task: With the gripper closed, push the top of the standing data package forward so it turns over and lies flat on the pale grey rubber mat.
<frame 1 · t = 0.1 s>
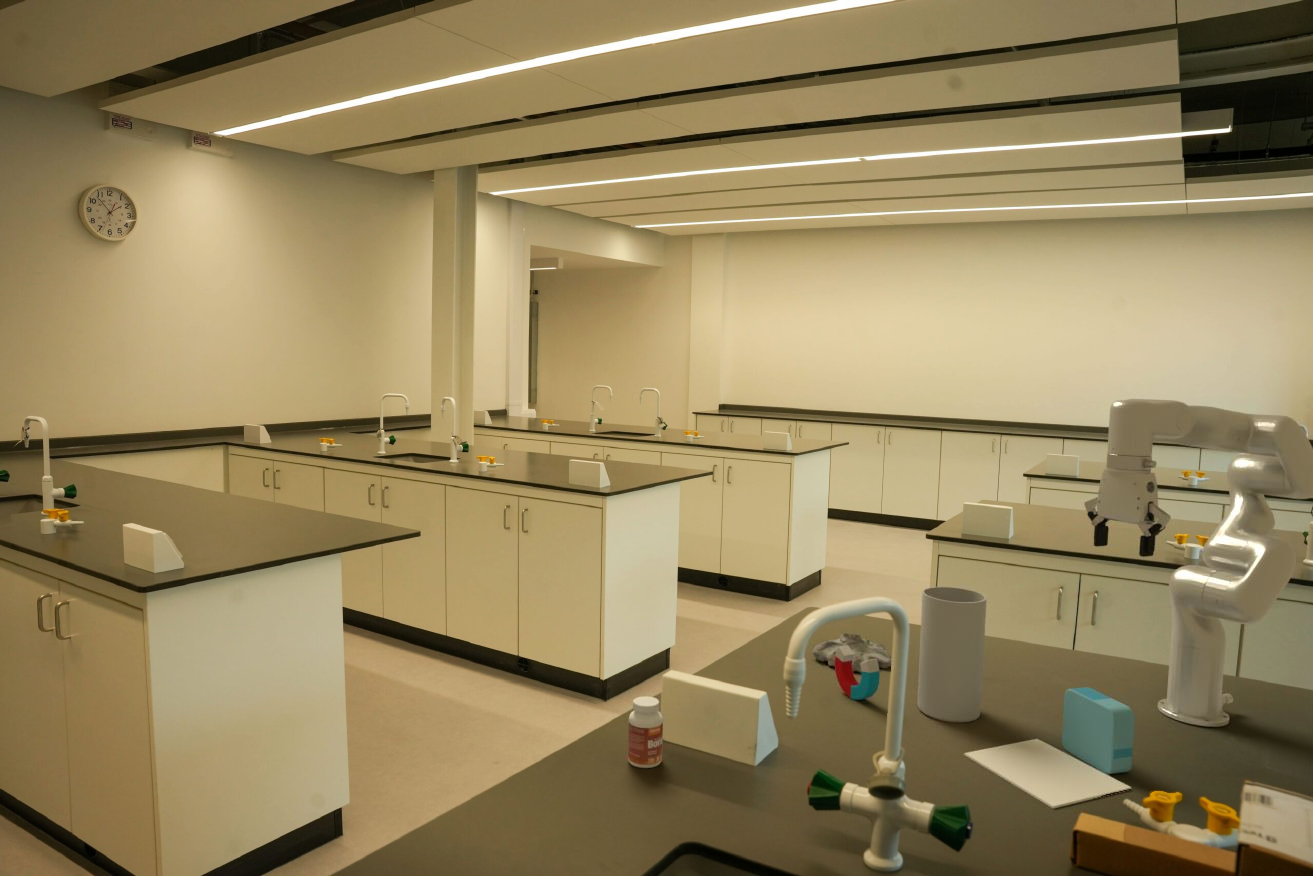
hand: (1122, 550, 161), 37 cm above the countertop, tool pointing down, fingers open, 9 cm apart
magnet: (855, 698, 179), on the countertop
fossil: (856, 663, 202), on the countertop
pill bottle: (644, 762, 147), on the countertop
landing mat: (1044, 771, 146), on the countertop
data package: (1094, 762, 151), on the countertop
cylinder vase: (948, 712, 172), on the countertop
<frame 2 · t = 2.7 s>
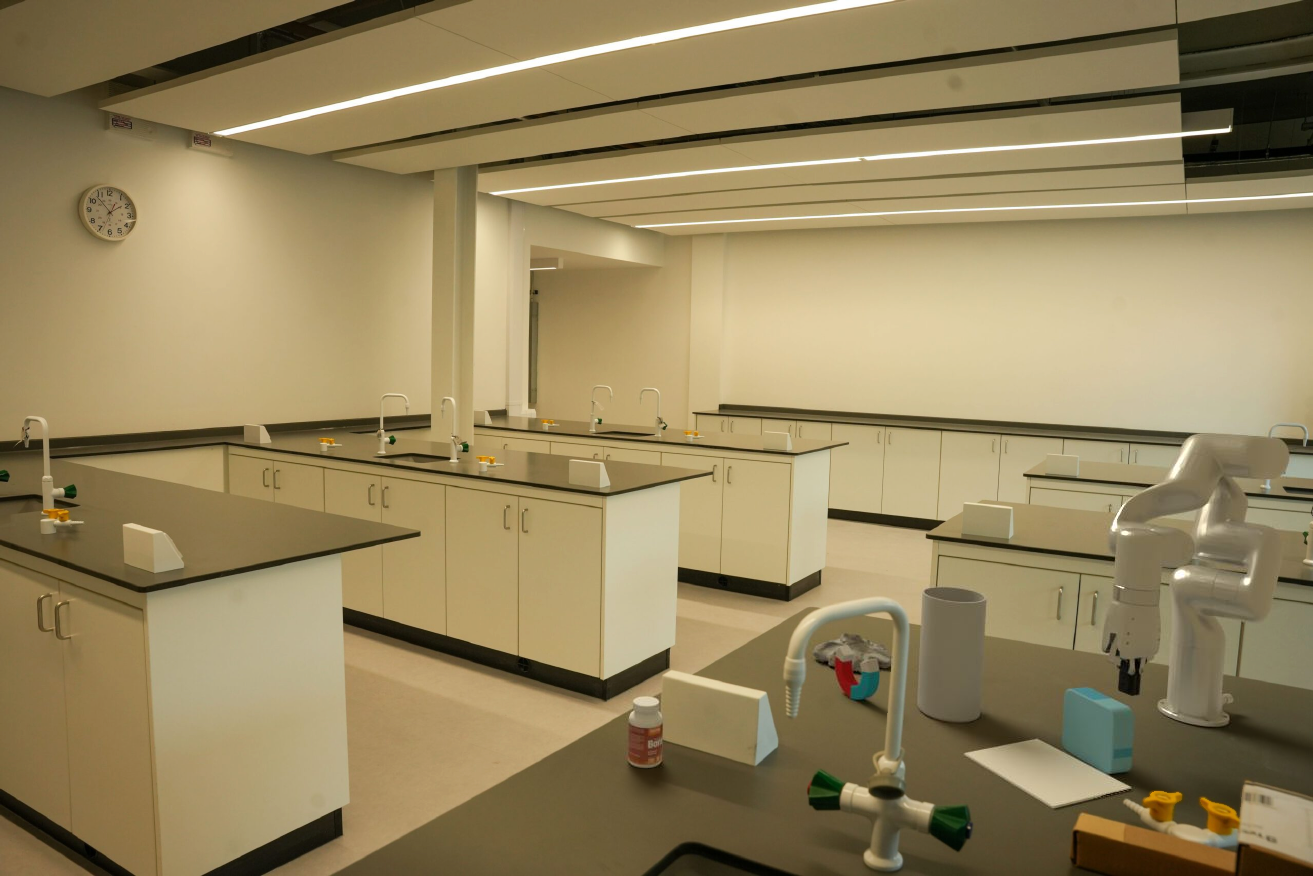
hand: (1128, 692, 153), 12 cm above the countertop, tool pointing down, fingers closed
nothing on the countertop moved.
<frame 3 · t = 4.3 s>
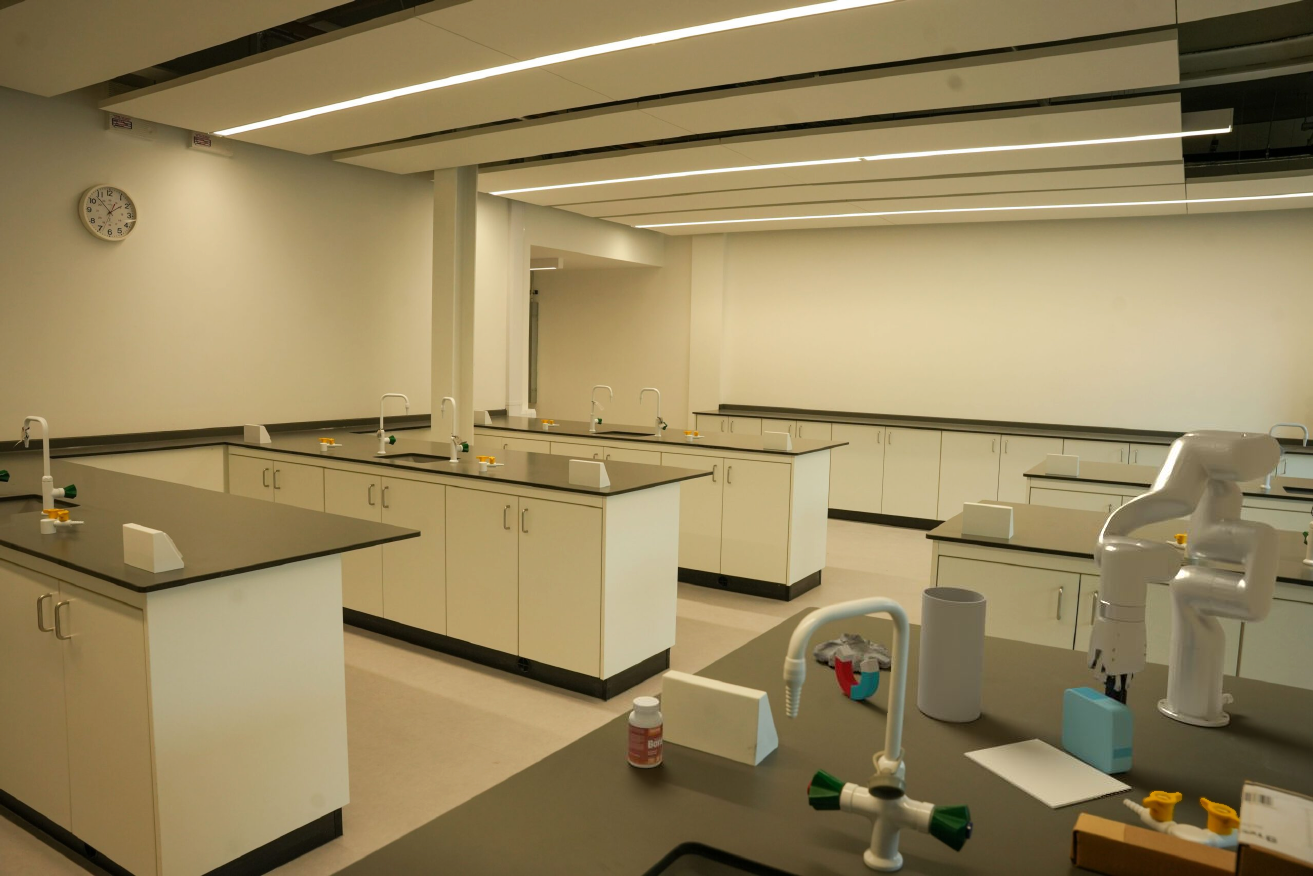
hand: (1114, 708, 152), 9 cm above the countertop, tool pointing down, fingers closed
nothing on the countertop moved.
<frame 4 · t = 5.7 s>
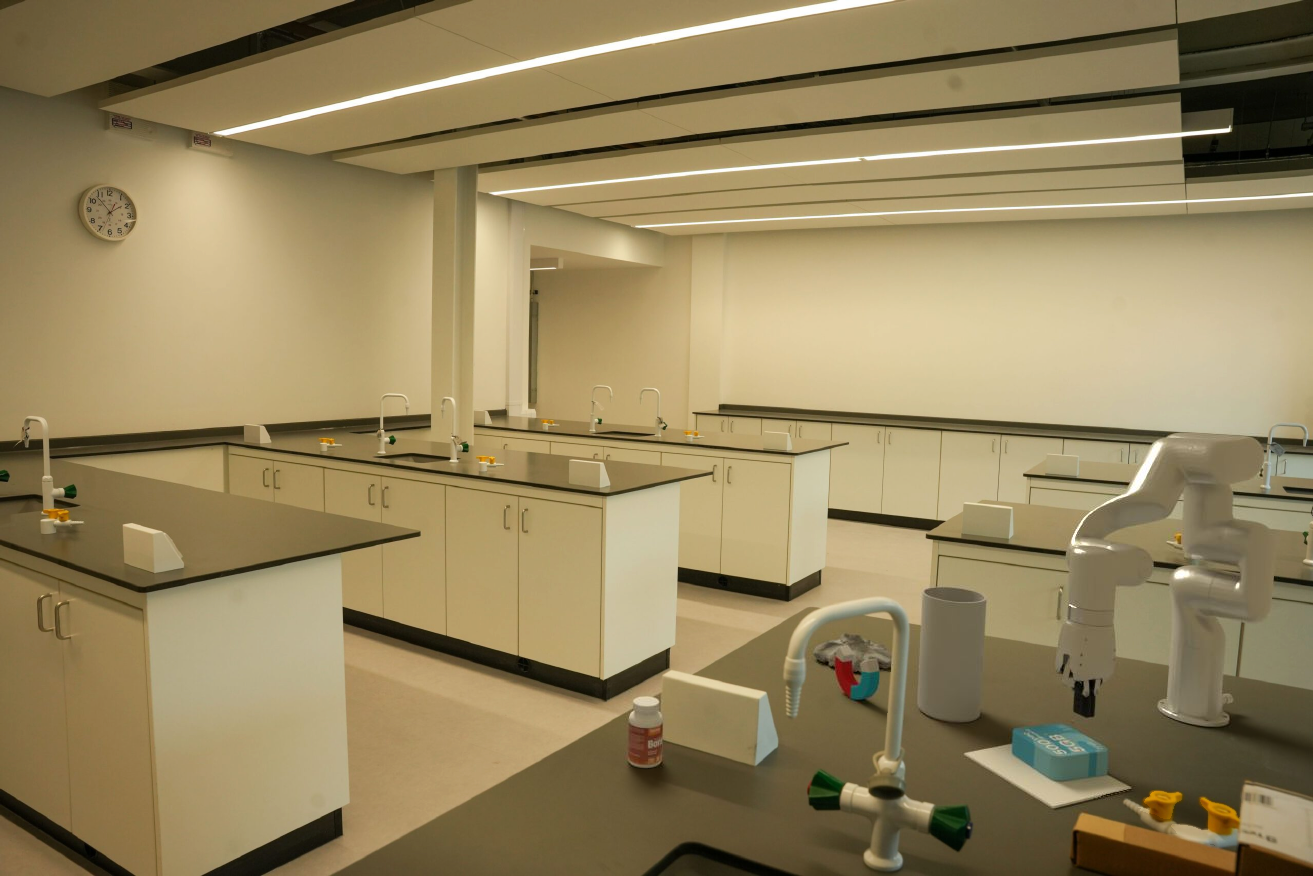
hand: (1083, 714, 149), 9 cm above the countertop, tool pointing down, fingers closed
data package: (1087, 747, 150), point 3 cm above the countertop, touching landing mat
everything else where it was.
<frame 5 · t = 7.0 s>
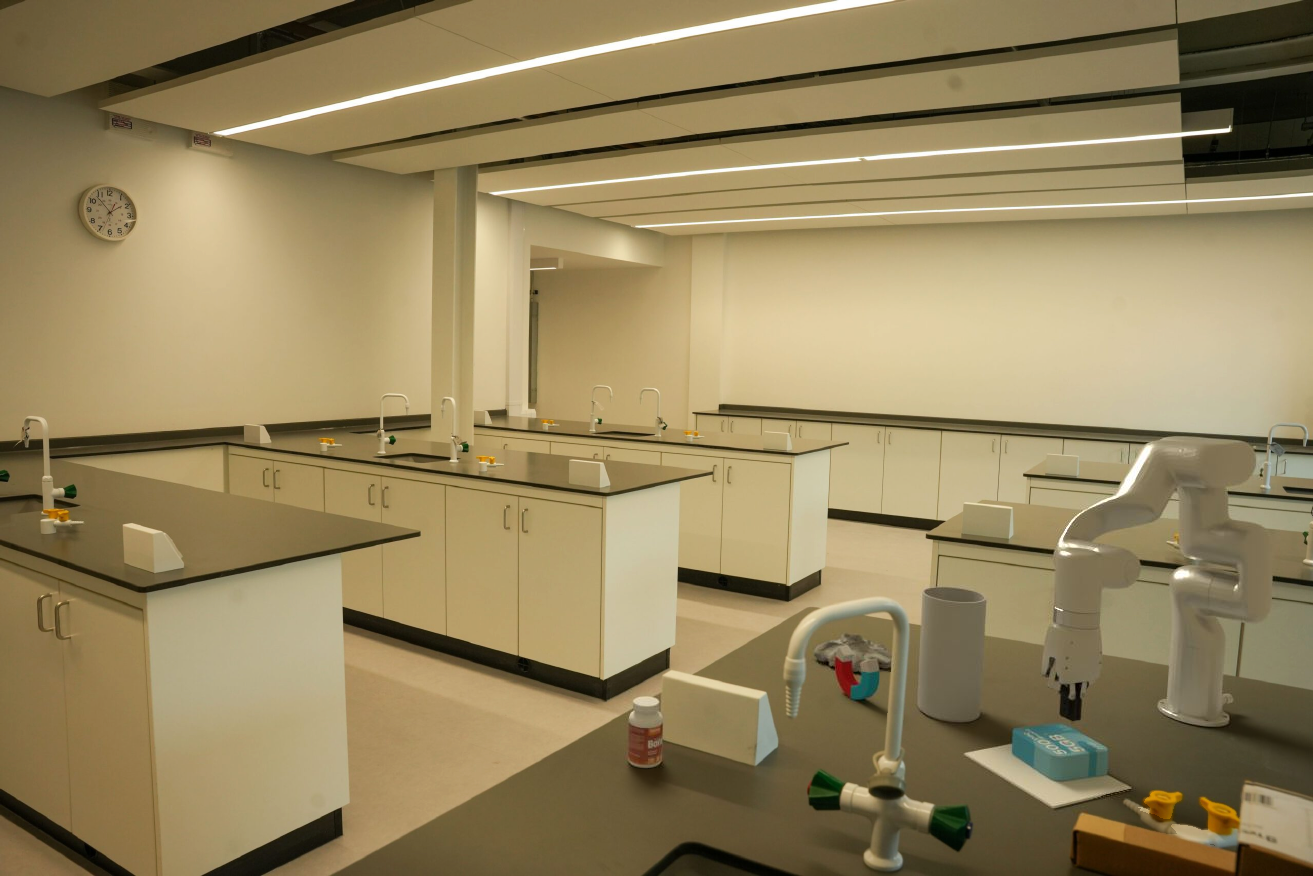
hand: (1069, 717, 148), 9 cm above the countertop, tool pointing down, fingers closed
nothing on the countertop moved.
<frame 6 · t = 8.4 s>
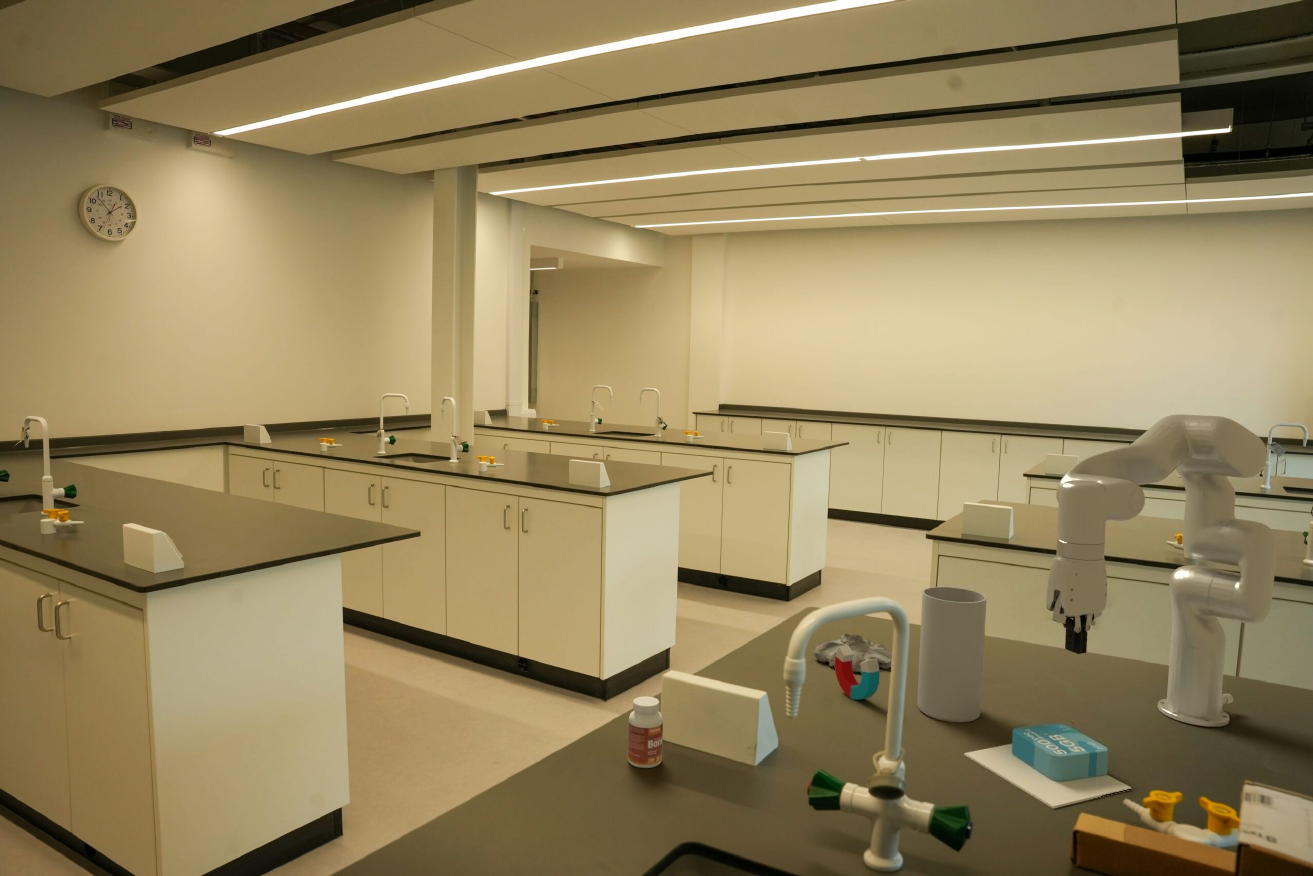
hand: (1075, 651, 147), 21 cm above the countertop, tool pointing down, fingers closed
nothing on the countertop moved.
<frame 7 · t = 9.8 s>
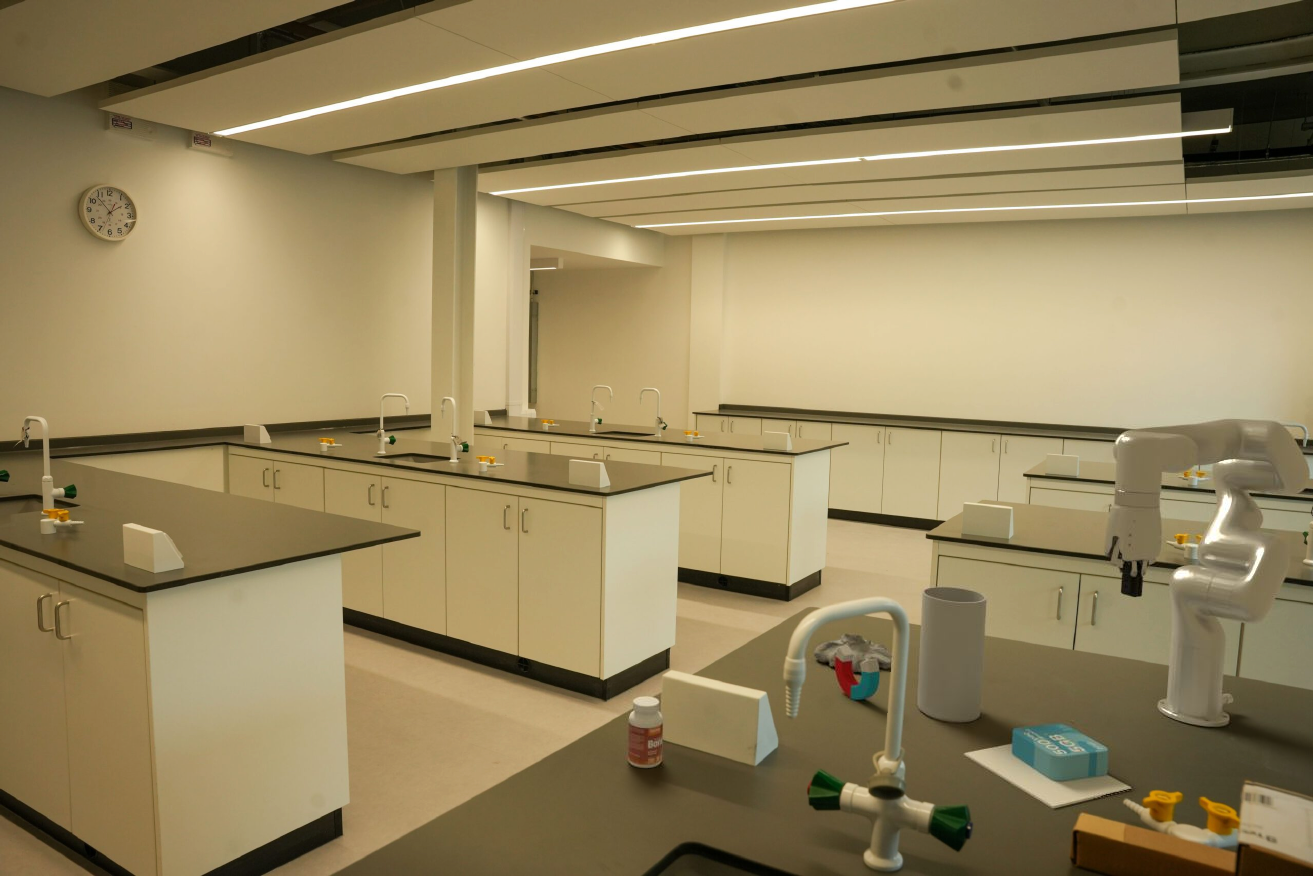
hand: (1131, 595, 157), 29 cm above the countertop, tool pointing down, fingers closed
nothing on the countertop moved.
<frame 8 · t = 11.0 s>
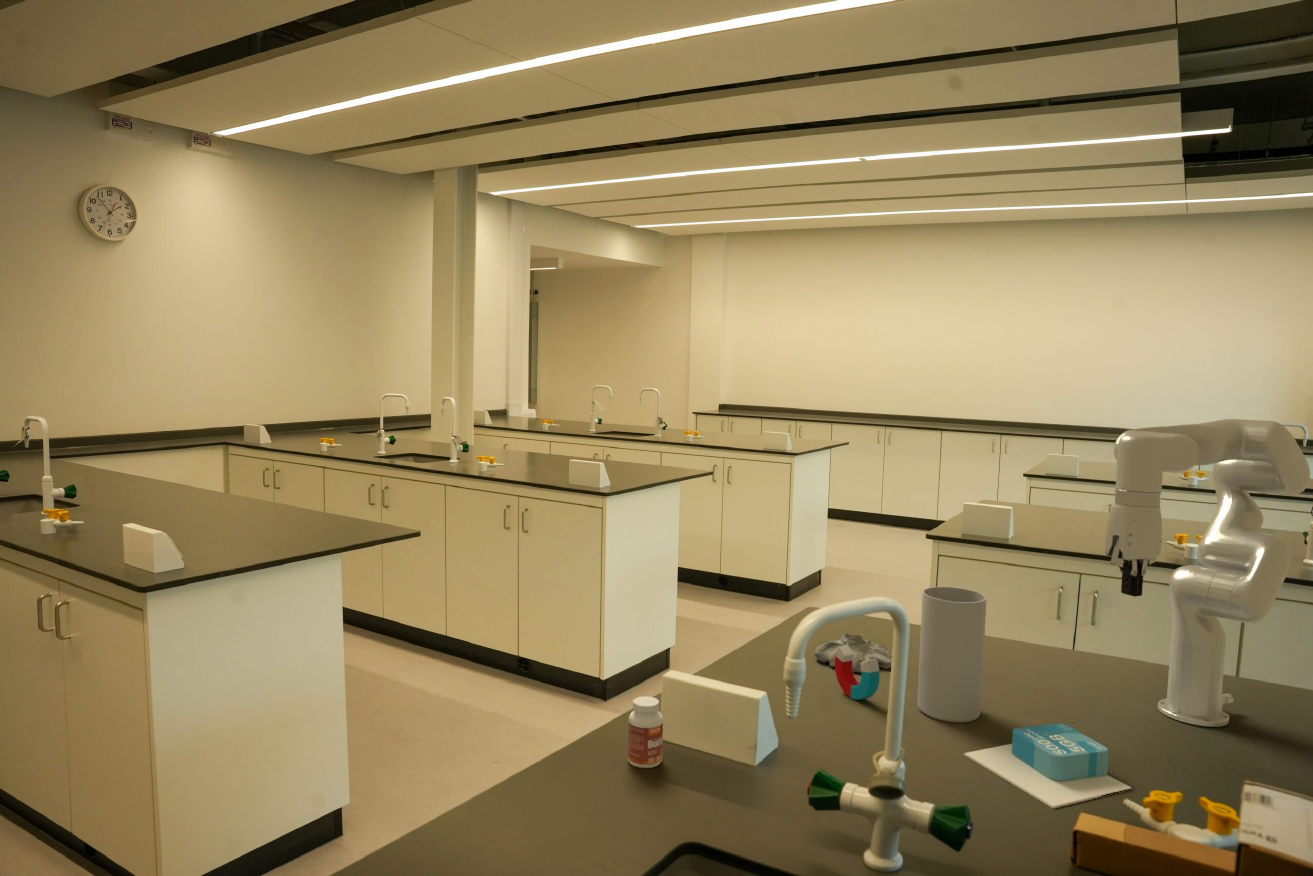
hand: (1131, 594, 157), 29 cm above the countertop, tool pointing down, fingers closed
nothing on the countertop moved.
at the end: data package tilted 90°; data package inside the target area (5.1 cm from its centre), point 2.7 cm above the countertop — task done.
